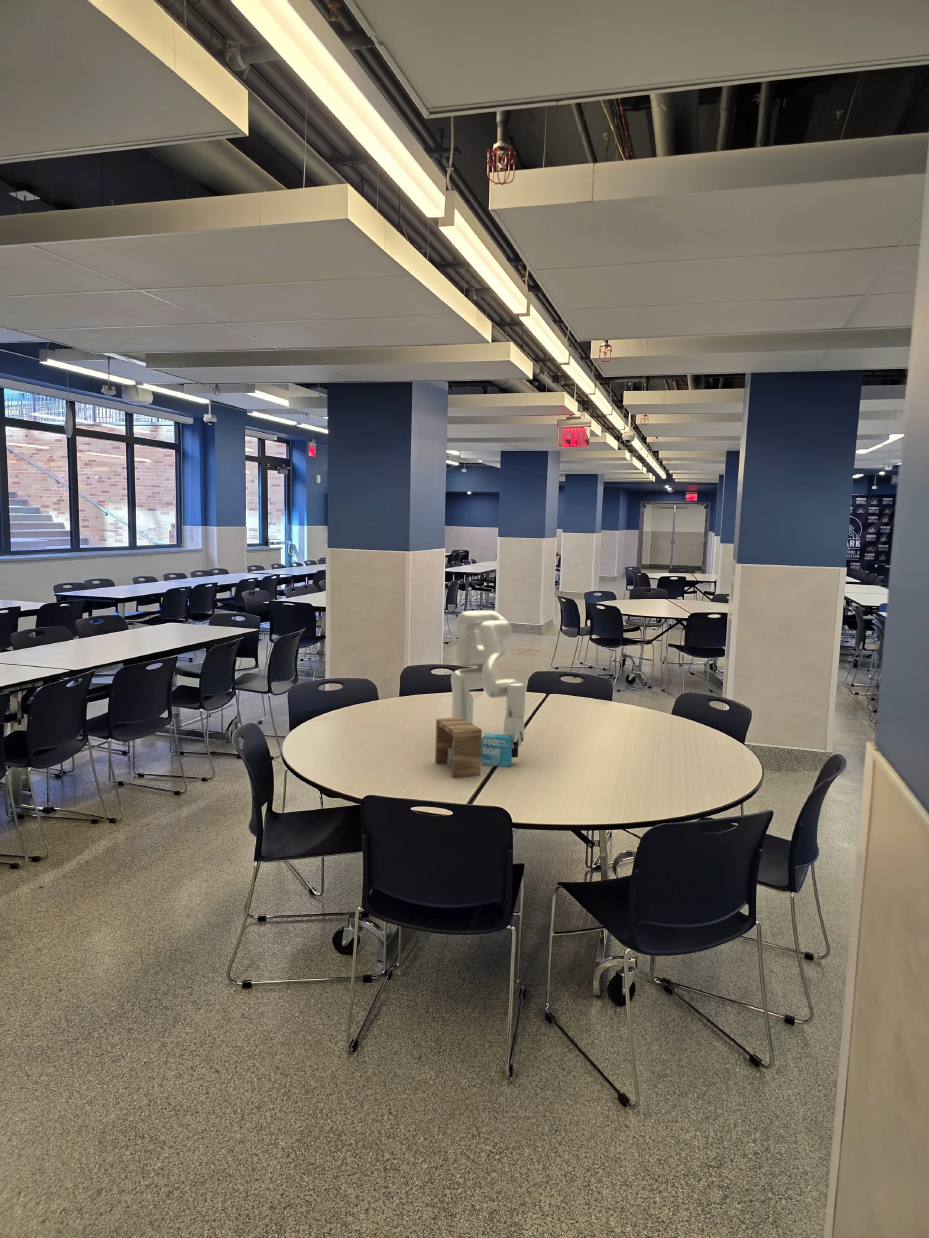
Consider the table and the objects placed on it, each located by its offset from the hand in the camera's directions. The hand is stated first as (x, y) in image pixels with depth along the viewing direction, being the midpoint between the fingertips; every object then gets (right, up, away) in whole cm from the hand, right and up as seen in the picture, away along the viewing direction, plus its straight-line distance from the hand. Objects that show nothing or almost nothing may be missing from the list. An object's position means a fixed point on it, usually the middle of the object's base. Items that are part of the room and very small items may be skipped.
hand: (513, 756), depth 299 cm
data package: (-7, -3, -2) cm, 8 cm away
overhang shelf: (-22, -3, -9) cm, 24 cm away
